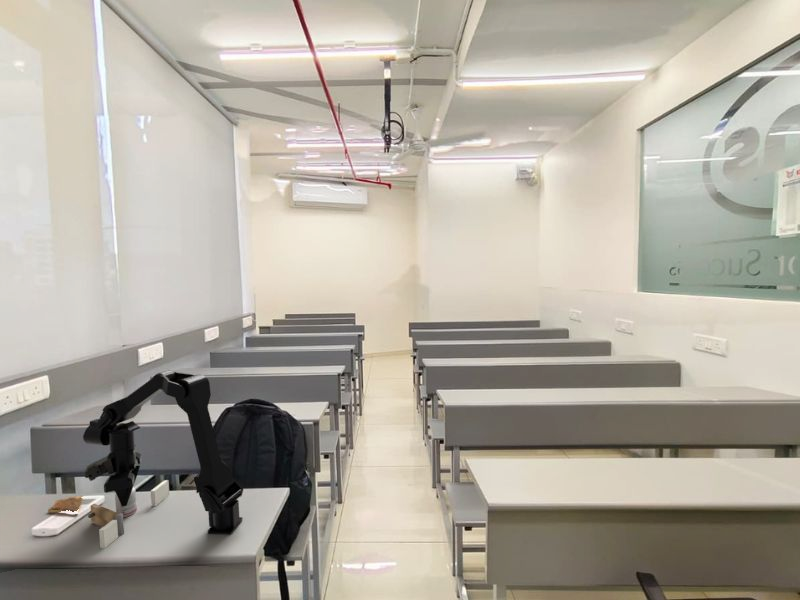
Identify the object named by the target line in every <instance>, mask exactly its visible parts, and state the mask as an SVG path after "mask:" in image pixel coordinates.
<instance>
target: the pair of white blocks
mask: <svg viewBox="0 0 800 600" xmlns="http://www.w3.org/2000/svg"><path fill="white" fill-rule="evenodd" d="M169 496H170V485H169V479H166V480H165V479H164V480H163V481H162V482H160V483H159V484H158V485H156V486H155V487H154V488H153V489H151V490H150V500H151V501H150V502H151V503H150V504H151V507H156V506H158V505H159V504H160V503H162V502H163V501H164V500H165V499H166V498H168V497H169ZM98 530H99V531H98V532H99V545H100V547H99V548H100V549H106V548H107V547H108V546H109V545H111V544H112V543H113V542H114V541H115V540H117V539H118V538H119V537H120V536H122V535H124V534H125V526H124V517H123V513H118V514H116V515H115V516H114V520H112V521H110V522H109V523H108V524H106V525H105V526H104V527H102V526H101V528H100V529H98Z"/></svg>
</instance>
